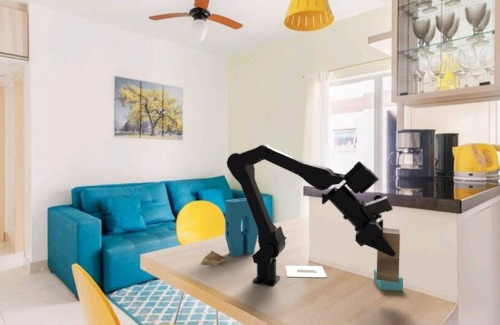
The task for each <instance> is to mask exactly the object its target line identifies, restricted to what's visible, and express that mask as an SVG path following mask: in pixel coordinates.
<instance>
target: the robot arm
mask: <svg viewBox="0 0 500 325" xmlns="http://www.w3.org/2000/svg"><path fill="white" fill-rule="evenodd" d="M264 160H265V161H267V162H269V163H272V164H273V165H276V166H278V167H280V168H282V169H284V170H286V171H289V172H290V173H292V174H295V175H297V176H299V178H301V179H303V180H304V181H305V182H306V183H307V184H308V185H310V186H311V187H313V188H314V189H316V190H319V191H325V190H328V189H329V188H331V187H332V186H333V187H332V188H331V189H330V190H329V191H328V192H323V193H322V194H321V204H322V205H325V204H326V203H327V202H328V201H329V202H330V203H331V204H332V205H333V207H335V208H336V209H337V210H338V211H339V212H340V213H341V215H343V216H342V218H343V219H344V221H348V222H349V223H350V224H351V225H352V226H353V227H354V228H353V229H354V231H355V236H354V237H355V238H354V239H355V240H354V241H355V242H356V243H357V244H358V246H360V247H363V246H368V247H370V248H372V249H374V250H376V251H377V250H378V251H381V252H383V253H385V254H387V255H389V256H391V257H393V256H395V255H396V254H395V252H394V251H393V249H392V248H391V246H390V245H389V243H388V242H387V240H386V239H385V238H384V236H383V228H384V219H382V217H383V216H382V213H385V212H387V213H388V212H389V213H390V212H391V211H393V205H392V204H391V201H390V199H389V197H388V196H387V195H384V196H383V195H381V194H380V193H378V194H375V195H374V196H373V200H371V201H369V202H365V201H364V200H361V199H359V198H358V197H357V196H356V195H355V194H358V193H360V194H361V195H363V194H364V193H366V192H367V191H368V190H369V189H370V188H372V186H373V185H375V183H377V182H378V181H379V179H380V178H379V177H378V176H377V175H376V174H375V173H374V172H373V171H372V169H370V168H368V167H367V166H366V165H364V163H362V162H361V161H358V162H356V163H355V164H354V165H353V167H352V168H351V169H350V170H349V171H348V172H346V173H345V174H343V173H338V172H334V171H333V170H332V169H331V168H329V167H325V166H321V165H318V164H312V163H307V162H305V161H302V160H301V159H298V158H296V157H294V156H292V155H289V154H287V153H284V152H283V151H280V150H278V149H275V148H273V147H272V146H271V145H269V144H260V145H259V146H257V147H254V148H252V149H249V150H246V151H243V152H234V153H231V154H230V155H229V156H228V158H227V160H226V166H227V168H228V170H229V171H230V174H231V175H232V177H233V178H234V179H235V181H237V183H239V184H240V187H241V190H242V192H243V194H244V198H246V200H247V203H248V205H249V208H250V210H251V213H252V215H253V218H254V221H255V223H256V226H257V228H258V237H257V243H258V246H259V249H258V250H257V251H255V252H254V253H253V255H252V256H251V258H252V261H253V263H254V264H256V276H255V277H254V278H253V279H252V283H255V284H258V285H259V284H260V285H267V286H272V287H273V286H275V285H276V284H277V282H278V281H279V280H280V278H281V275H277V259H276V258H278V257H279V256H280V254H281V253H283V251H284V249H285V248H286V240H287V237H286V236H285V235H284V231H283V228H282V226H281V225H279V226H276V225H275V224H274V222H272V218H271V216H270V213H269V211H268V209H267V207H266V203H265V201H264V199H263V197H262V194H261V190H260V189H259V187H258V183H257V181H256V177H255V176H256V174H255V170H256V169H255V164H258V163H260V162H262V161H264ZM343 181H345V182H344V183H343V184H342V185H340V184H341V183H342V182H343ZM336 185H340V186H339V188H338V187H336ZM346 185H347V186H346ZM378 219H381V220H379V221H378Z"/></svg>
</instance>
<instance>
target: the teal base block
mask: <svg viewBox="0 0 500 325" xmlns="http://www.w3.org/2000/svg"><path fill="white" fill-rule="evenodd" d="M373 281H374V283H375V284H376V286H377V287H378V289H379V290H380V291H381V290H382V291H402V292H403V290H404V277H403V276H402V275H401V274H400V273H399V283H397V282H391V281H384V280H378V279H377V268H373Z"/></svg>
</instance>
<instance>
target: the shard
mask: <svg viewBox="0 0 500 325" xmlns="http://www.w3.org/2000/svg"><path fill="white" fill-rule="evenodd" d="M226 261H227V258H226V257H224V256H222V255H220V254H219V253H217V252H215V251H213V250H211V251H209V253H208V254H207V255H206V256H205V257H204V258H203V259H202V260H201V264H202V265H203V264H204V265H215V266H216V265H217V266H218V265H220V264H221V263H223V262H226Z"/></svg>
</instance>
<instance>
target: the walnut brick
mask: <svg viewBox="0 0 500 325" xmlns="http://www.w3.org/2000/svg"><path fill="white" fill-rule="evenodd" d="M383 236H384V238H385V239H386V240H387V242H388V243H389V245H390V246H391V248H392V249H393V251H394V252H395V254H396V255H395V256H393V257H391V256H389V255H387V254H385V253H383V252H381V251H378V250H376V251H377V254H376V255H377V256H376V269H377V279H378V280H384V281H391V282H397V283H399V274H400V252H401V250H400V247H401V242H400V240H401V233H400V229H398V228H386V227H383Z"/></svg>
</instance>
